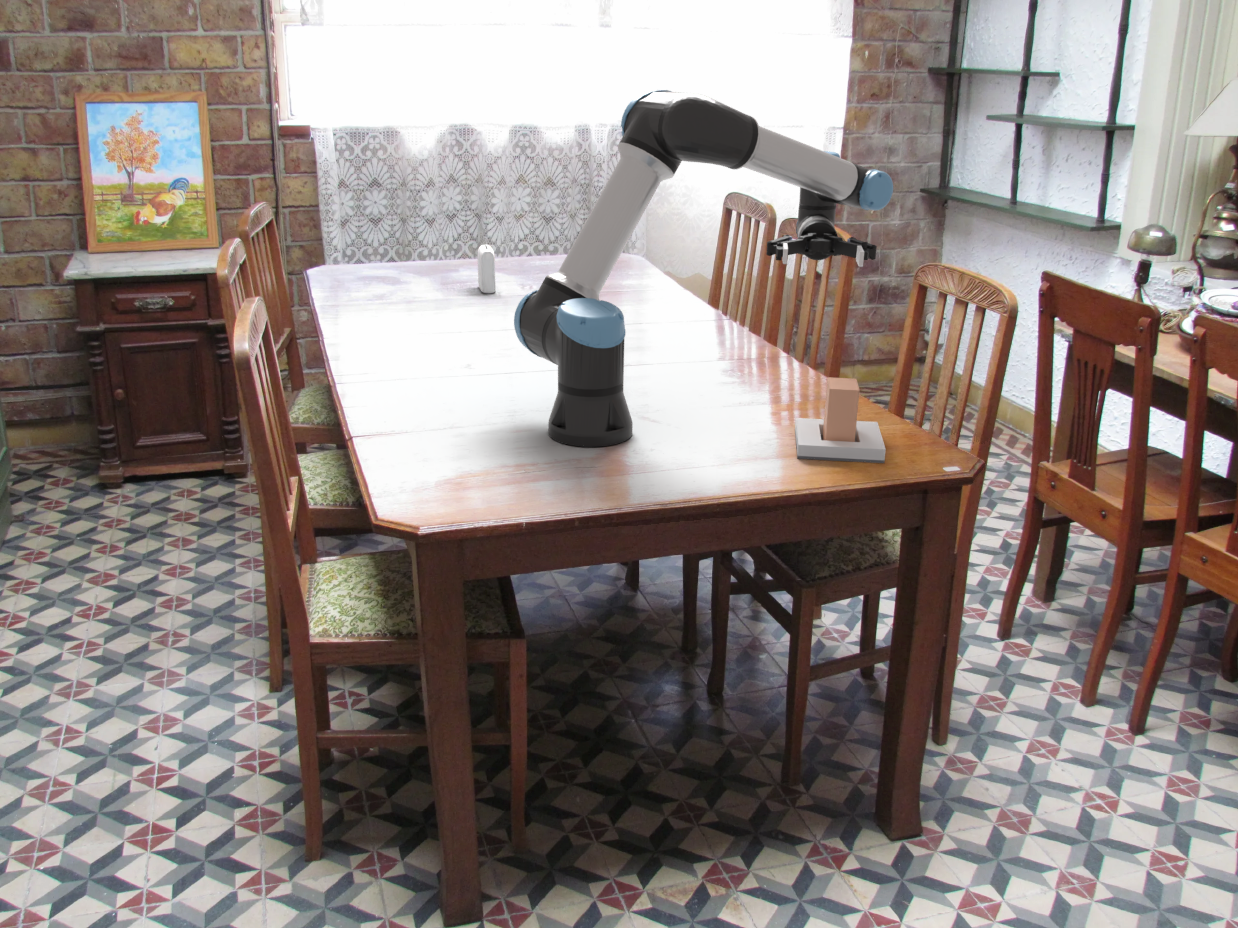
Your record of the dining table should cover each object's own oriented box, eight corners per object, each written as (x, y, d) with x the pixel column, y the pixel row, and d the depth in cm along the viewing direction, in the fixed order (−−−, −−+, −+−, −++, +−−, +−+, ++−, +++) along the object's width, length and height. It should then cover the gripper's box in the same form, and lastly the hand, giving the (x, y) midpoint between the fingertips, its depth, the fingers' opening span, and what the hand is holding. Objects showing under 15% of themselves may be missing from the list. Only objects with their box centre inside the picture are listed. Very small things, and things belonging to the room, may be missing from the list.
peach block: (824, 449, 197) (829, 388, 194) (822, 436, 204) (827, 377, 200) (853, 451, 197) (859, 390, 193) (850, 437, 203) (856, 378, 200)
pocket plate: (797, 458, 195) (798, 444, 194) (794, 430, 208) (795, 417, 207) (884, 463, 193) (885, 449, 192) (876, 435, 207) (877, 421, 206)
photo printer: (477, 286, 321) (476, 242, 316) (492, 285, 322) (491, 241, 317) (481, 294, 311) (479, 248, 307) (496, 293, 312) (495, 248, 308)
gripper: (879, 259, 226) (891, 281, 206) (753, 255, 228) (752, 276, 208) (883, 221, 223) (895, 239, 203) (755, 217, 226) (755, 234, 206)
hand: (823, 258), depth 206 cm, fingers open, 13 cm apart
